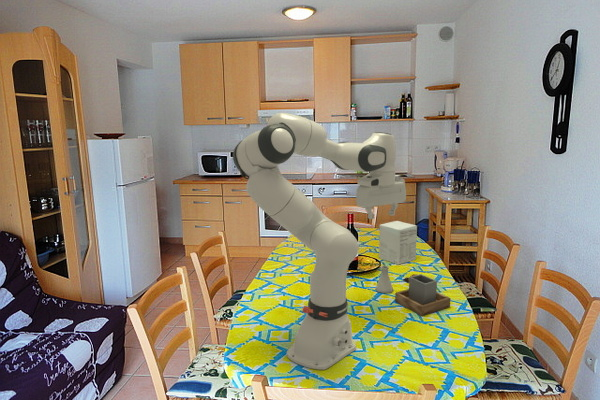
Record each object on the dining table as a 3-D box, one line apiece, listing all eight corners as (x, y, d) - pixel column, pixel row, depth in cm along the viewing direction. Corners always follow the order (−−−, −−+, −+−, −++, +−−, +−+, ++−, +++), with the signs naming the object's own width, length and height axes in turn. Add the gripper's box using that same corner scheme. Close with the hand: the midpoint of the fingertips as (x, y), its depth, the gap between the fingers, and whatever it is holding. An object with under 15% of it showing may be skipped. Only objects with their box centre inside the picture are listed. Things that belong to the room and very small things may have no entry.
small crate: (436, 303, 149) (437, 281, 147) (424, 307, 146) (424, 284, 144) (420, 296, 156) (420, 274, 154) (408, 299, 153) (409, 277, 151)
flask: (393, 294, 160) (394, 270, 159) (375, 293, 162) (375, 269, 160) (393, 287, 167) (393, 264, 166) (375, 286, 169) (376, 263, 167)
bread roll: (433, 283, 172) (434, 275, 171) (423, 289, 166) (423, 280, 165) (411, 276, 179) (411, 269, 178) (400, 282, 173) (401, 274, 173)
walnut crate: (450, 307, 148) (450, 298, 148) (422, 316, 142) (422, 307, 141) (422, 293, 161) (422, 285, 160) (395, 301, 154) (395, 292, 153)
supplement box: (416, 259, 200) (417, 225, 196) (398, 265, 192) (399, 229, 189) (396, 252, 210) (397, 220, 207) (378, 257, 203) (378, 224, 200)
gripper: (398, 175, 149) (397, 211, 152) (353, 180, 140) (353, 218, 143) (410, 177, 144) (409, 214, 147) (364, 182, 135) (364, 222, 137)
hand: (381, 216), depth 145 cm, fingers open, 8 cm apart
